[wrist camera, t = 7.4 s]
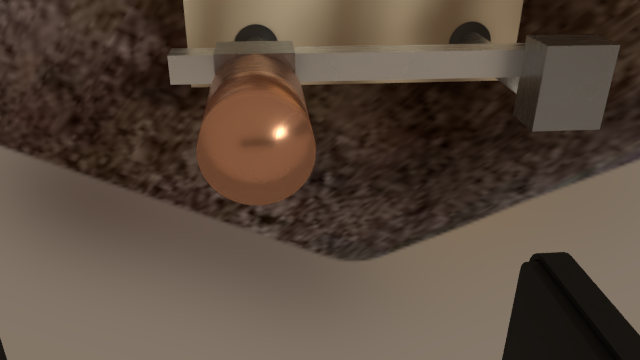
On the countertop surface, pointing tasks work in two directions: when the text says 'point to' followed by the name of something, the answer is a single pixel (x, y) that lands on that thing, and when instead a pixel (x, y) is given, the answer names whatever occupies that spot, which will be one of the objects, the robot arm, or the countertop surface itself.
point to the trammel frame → (464, 71)
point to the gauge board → (351, 24)
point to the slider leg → (255, 124)
